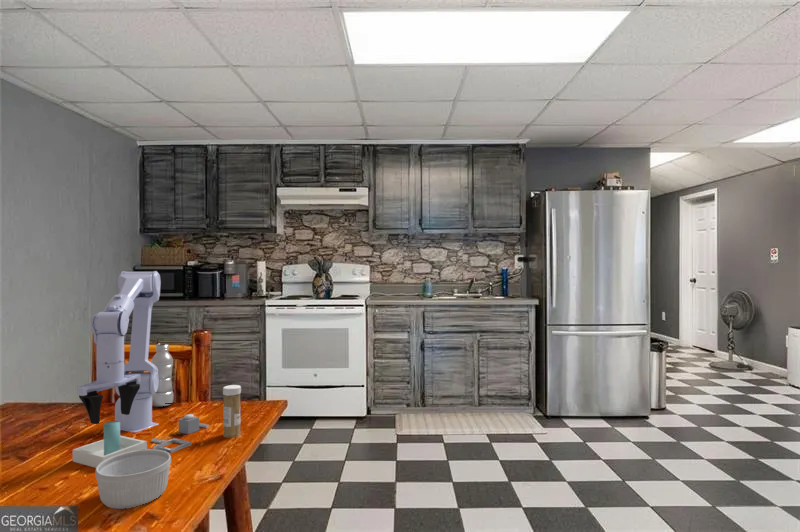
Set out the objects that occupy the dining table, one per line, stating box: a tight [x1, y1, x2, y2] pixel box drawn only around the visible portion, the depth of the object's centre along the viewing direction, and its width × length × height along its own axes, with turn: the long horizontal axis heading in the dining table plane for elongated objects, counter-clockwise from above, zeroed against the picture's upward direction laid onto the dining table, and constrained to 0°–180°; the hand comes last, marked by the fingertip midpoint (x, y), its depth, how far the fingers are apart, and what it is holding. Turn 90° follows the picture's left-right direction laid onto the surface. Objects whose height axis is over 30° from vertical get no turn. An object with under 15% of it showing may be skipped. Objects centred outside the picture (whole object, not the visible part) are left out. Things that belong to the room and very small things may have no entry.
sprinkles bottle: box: [222, 384, 242, 439], centre depth 132 cm, size 5×5×14 cm
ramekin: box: [94, 448, 172, 510], centre depth 98 cm, size 13×13×7 cm
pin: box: [103, 420, 121, 455], centre depth 118 cm, size 3×3×8 cm
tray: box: [72, 435, 148, 469], centre depth 118 cm, size 11×11×3 cm
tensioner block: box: [142, 437, 193, 454], centre depth 120 cm, size 6×14×2 cm, turn 155°
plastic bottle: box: [150, 343, 175, 408], centre depth 160 cm, size 6×7×20 cm
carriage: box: [178, 413, 200, 435], centre depth 135 cm, size 4×4×4 cm
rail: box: [151, 422, 210, 444], centre depth 132 cm, size 5×15×1 cm, turn 155°
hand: (110, 418), depth 118 cm, fingers open, 7 cm apart
